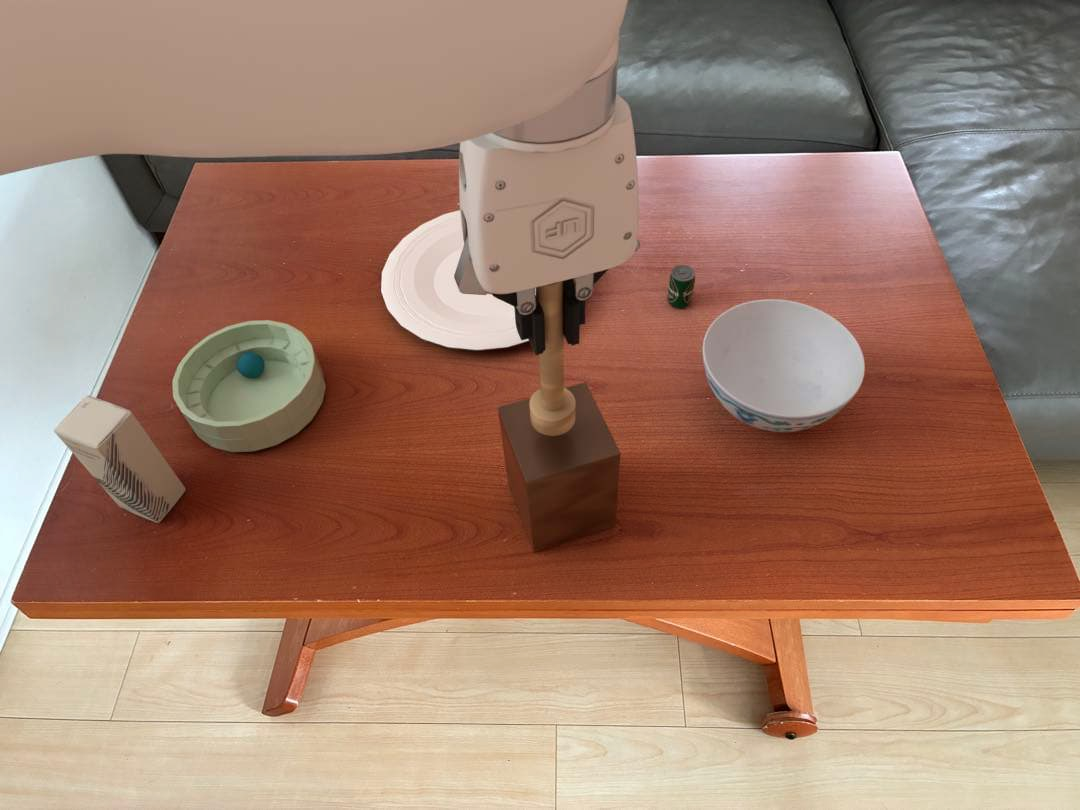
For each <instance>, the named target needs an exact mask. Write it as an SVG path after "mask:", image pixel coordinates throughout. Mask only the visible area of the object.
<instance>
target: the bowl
mask: <svg viewBox="0 0 1080 810" xmlns="http://www.w3.org/2000/svg"><path fill="white" fill-rule="evenodd" d="M248 352H253V353H256V354H258V355H260V356H261V357H262V359H263V361H264V364H265V367H264V370H263V372H262V374H261V375H259V376H258V377H256V378H246V377H244V376H242V375H241V374H240V373H239V371H238V369H237V361H238V359H239V357H240V356H241V355H243V354H245V353H248ZM326 388H327V387H326V380H325V375H324V372H323V369H322V366H321V363H320V361H319V359H318V356H317V354H316V351H315V349H314V347H313V344H312V343H311V342H310V340H309V339H308V338H307V336H306V335H305V334H304V332H303V331H301V330H299V329H297V328H295V327H294V326H292V325H290V324H289V323H285V322H280V321H275V320H271V319H266V320H265V319H264V320H263V319H262V320H261V319H259V320H247V321H243V322H239V323H234V324H231V325H228V326H225V327H223V328H221V329H219V330H216V331H215V332H213V333H210V334H209V335H207V336H205V337H204V338H203V339H202V340H201V341H199V342H198V343H196V344H195V345H194V346H193V347H191V348H190V349H189V350H188V351H187V353H186V354H185V355H184V356H183V358H182V359H181V360H180V362H179V363H178V365H177V368H176V370H175V372H174V375H173V378H172V398H173V400H174V402H175V403H176V406H177V407H178V409H179V410H180V412H181V414H182V415H183V417H184V418H185V420H186V421H187V423H188V424H189V426H190V427H191V429H192V430H193V432H194V433H195V435H196V436H197V438H198V439H200V440H202V441H203V442H205V443H206V444H207V445H209V446H210V447H212V448H215V449H218V450H222V451H226V452H228V453H249V452H251V453H252V452H257V451H260V450H264V449H267V448H271V447H274V446H278V445H279V444H281V443H283V442H284V441H287V440H289V439H290V438H292V437H294V436H296V435H297V434H299V433H300V431H302V430H303V429H304V428H305V427H306V426H307V425H308V424H309V423H310V422H312V421H313V419H314V418H315V416H316V414H317V412H318V411H319V409H320V407H321V406H322V404H323V401H324V396H325V392H326Z"/></svg>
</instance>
